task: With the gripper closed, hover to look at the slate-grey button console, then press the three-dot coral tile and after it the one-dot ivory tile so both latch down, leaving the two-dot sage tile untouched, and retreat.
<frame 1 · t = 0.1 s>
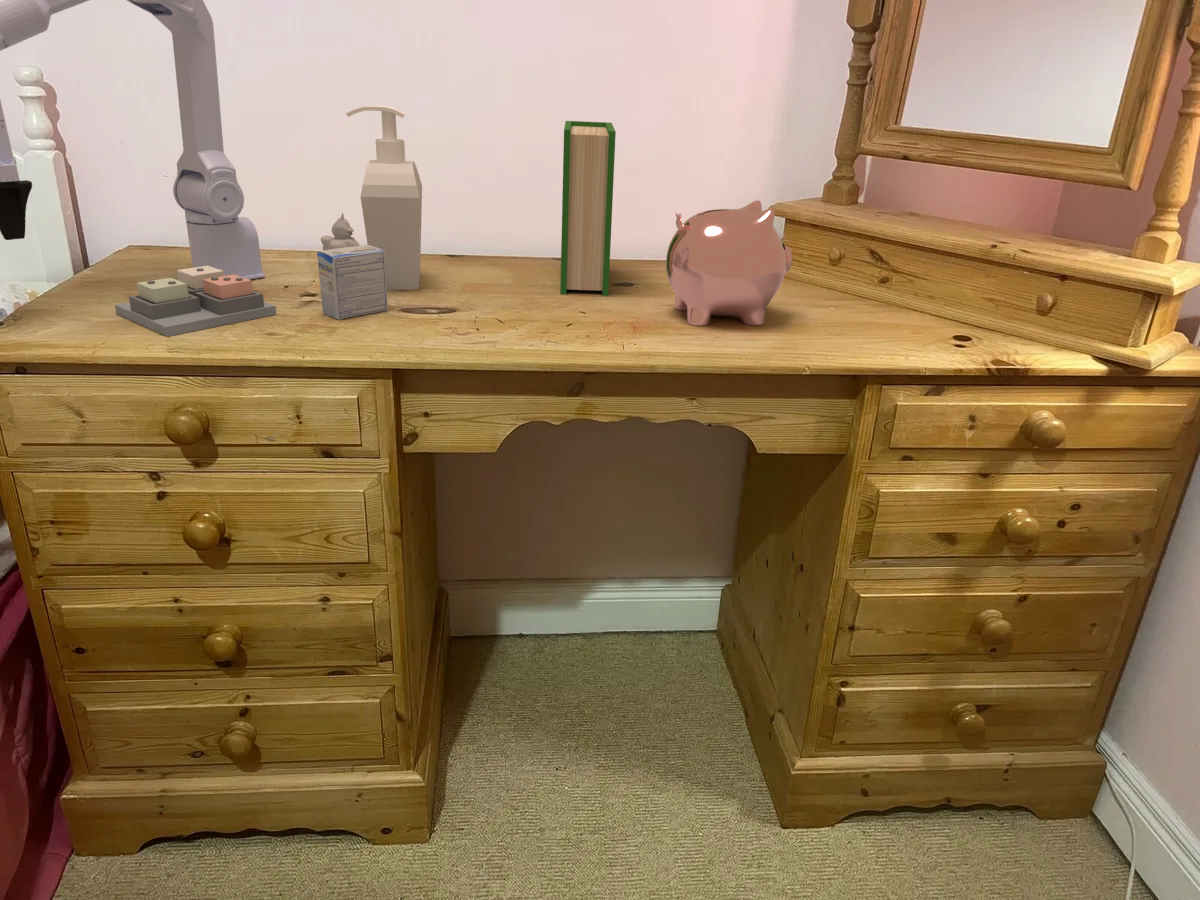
hand: (4, 234, 112), 10 cm above the table, tool pointing down, fingers open, 7 cm apart
soap bottle: (392, 284, 138), on the table
tile coral: (227, 285, 117), point 4 cm above the table, slide at 0.0 cm
hardback book: (583, 282, 144), on the table
piggy bank: (723, 316, 129), on the table
medicine box: (355, 314, 122), on the table
console: (197, 313, 118), on the table
tile ivory: (201, 276, 121), point 4 cm above the table, slide at 0.0 cm
rubber duck: (341, 260, 152), on the table
tile sage: (162, 289, 114), point 4 cm above the table, slide at 0.0 cm
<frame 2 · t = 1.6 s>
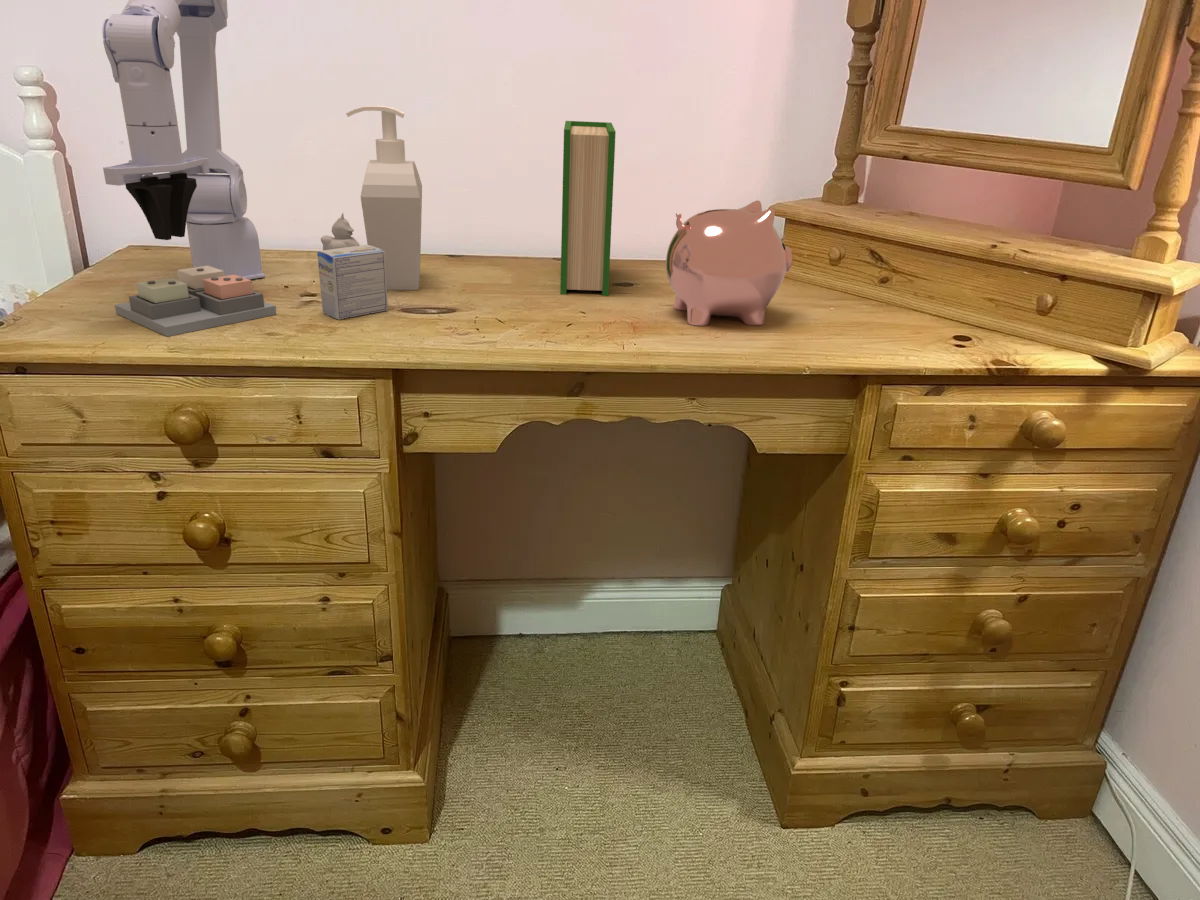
hand: (170, 237, 113), 10 cm above the table, tool pointing down, fingers closed
nothing on the table moved.
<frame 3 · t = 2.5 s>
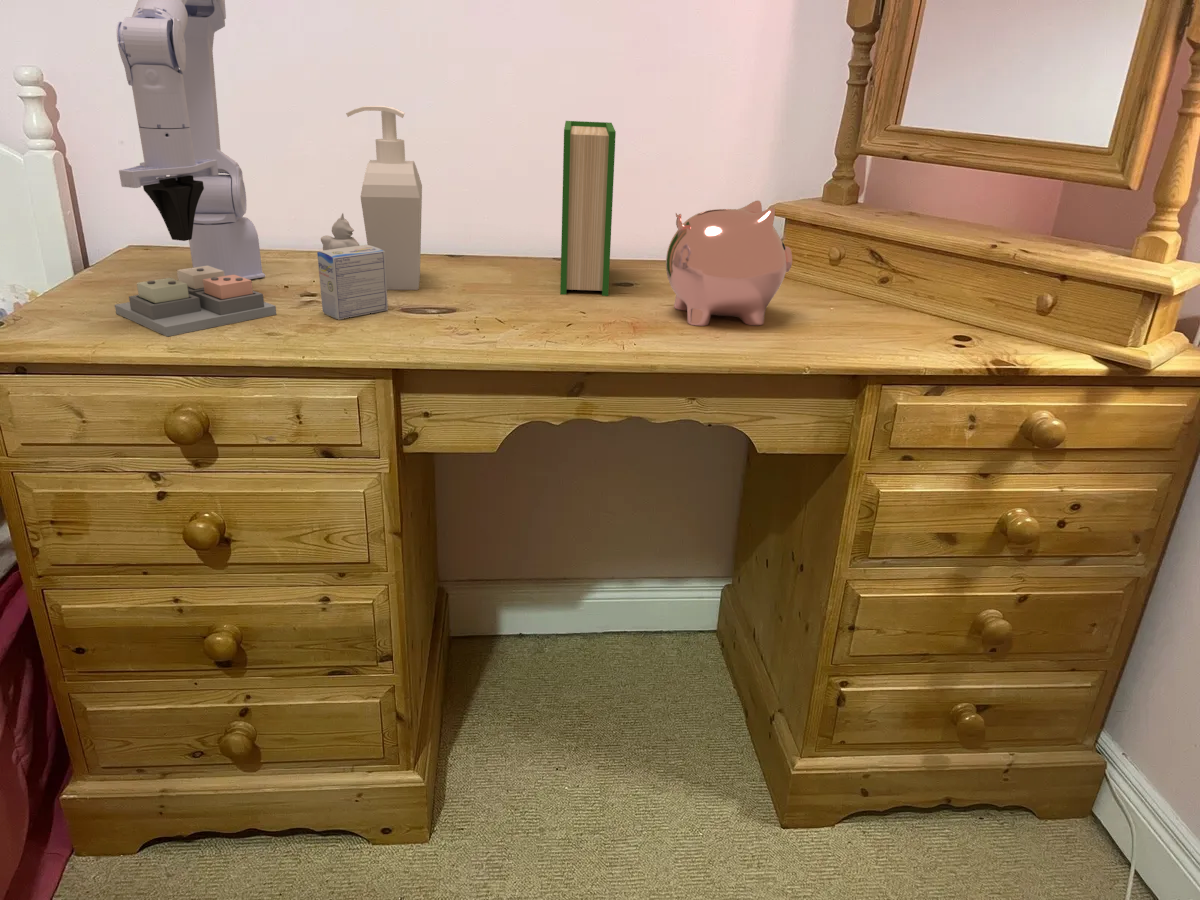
hand: (181, 239, 113), 10 cm above the table, tool pointing down, fingers closed
nothing on the table moved.
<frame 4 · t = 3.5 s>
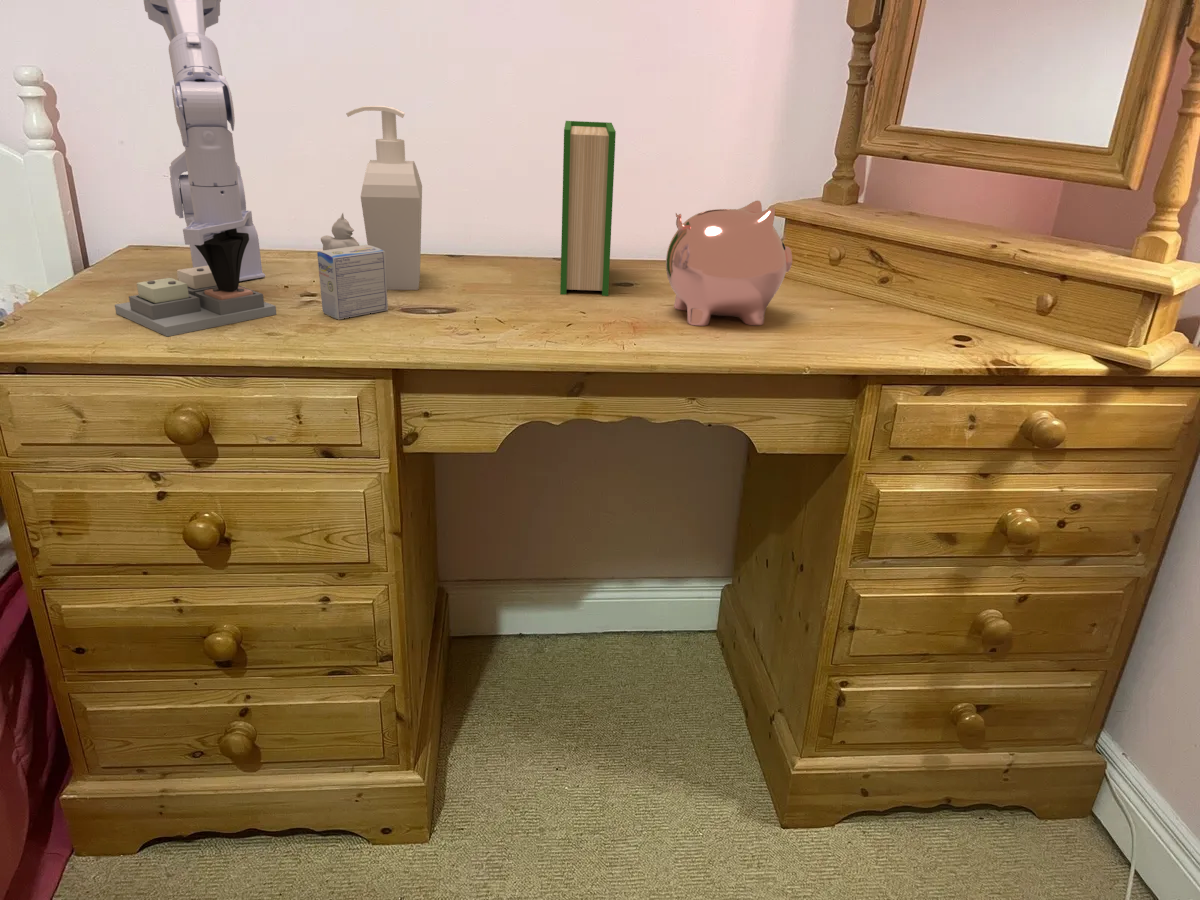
hand: (228, 289, 117), 3 cm above the table, tool pointing down, fingers closed, pressing on tile coral
tile coral: (229, 296, 117), point 3 cm above the table, slide at -1.5 cm, touching gripper
everything else where it was.
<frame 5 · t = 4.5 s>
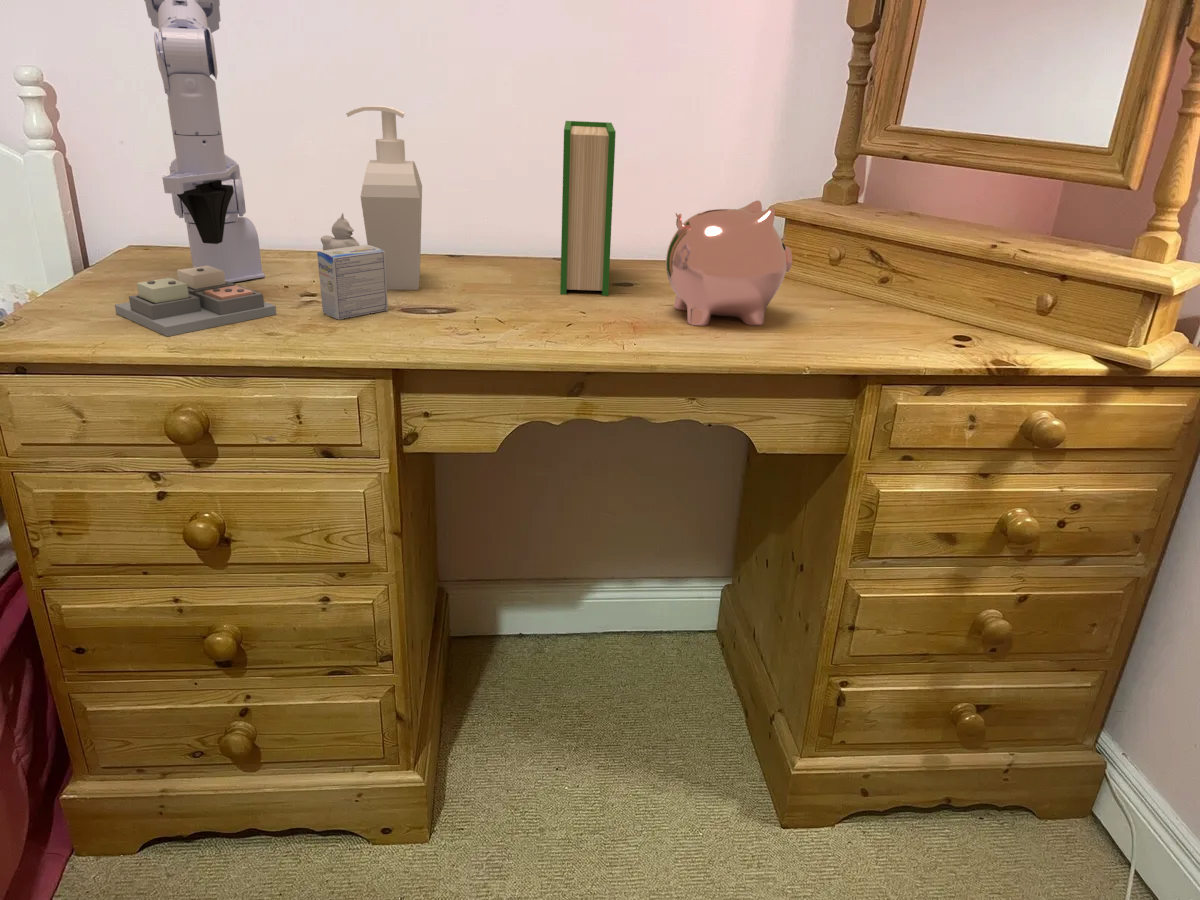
hand: (212, 242, 116), 9 cm above the table, tool pointing down, fingers closed
tile coral: (229, 296, 117), point 2 cm above the table, slide at -1.5 cm
everything else where it was.
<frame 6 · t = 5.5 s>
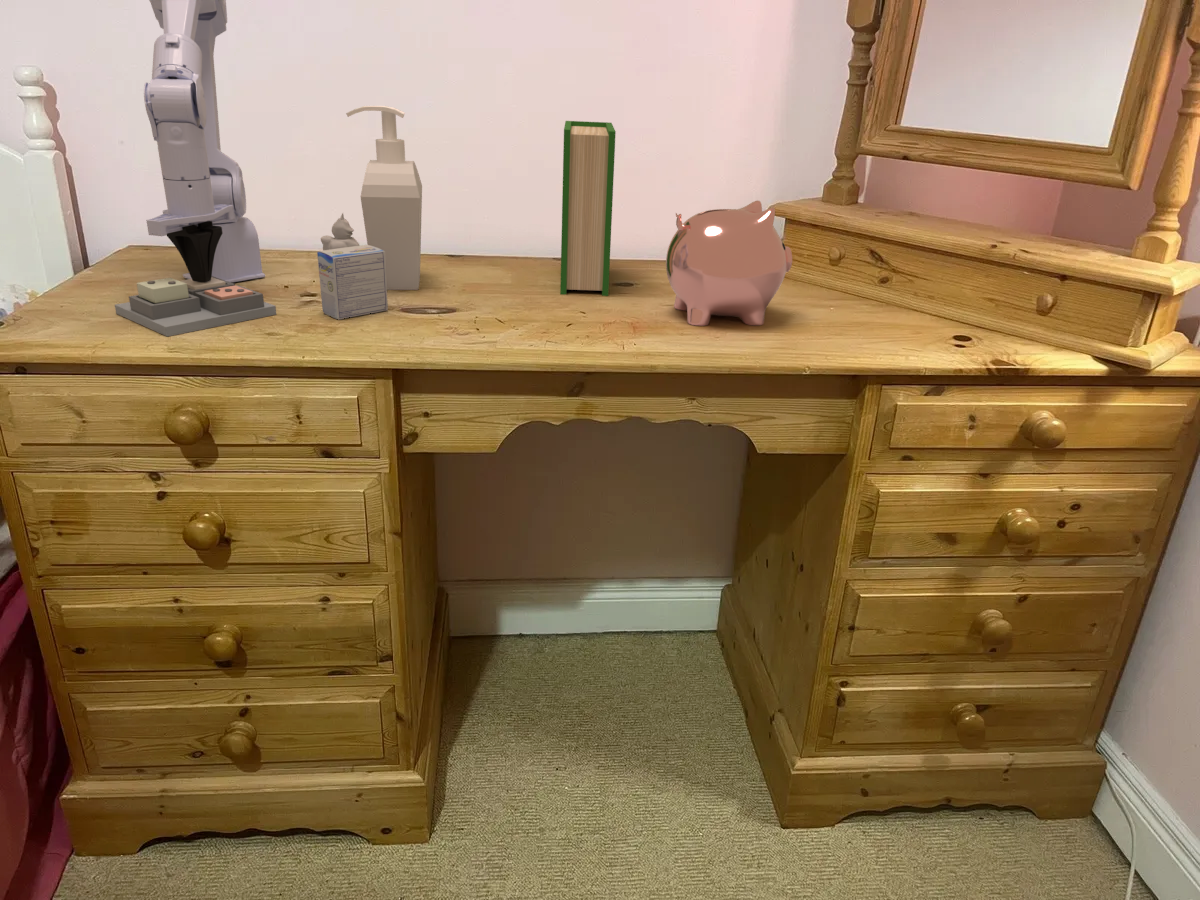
hand: (201, 280, 121), 3 cm above the table, tool pointing down, fingers closed, pressing on tile ivory
tile ivory: (202, 287, 121), point 2 cm above the table, slide at -1.5 cm, touching gripper
everything else where it was.
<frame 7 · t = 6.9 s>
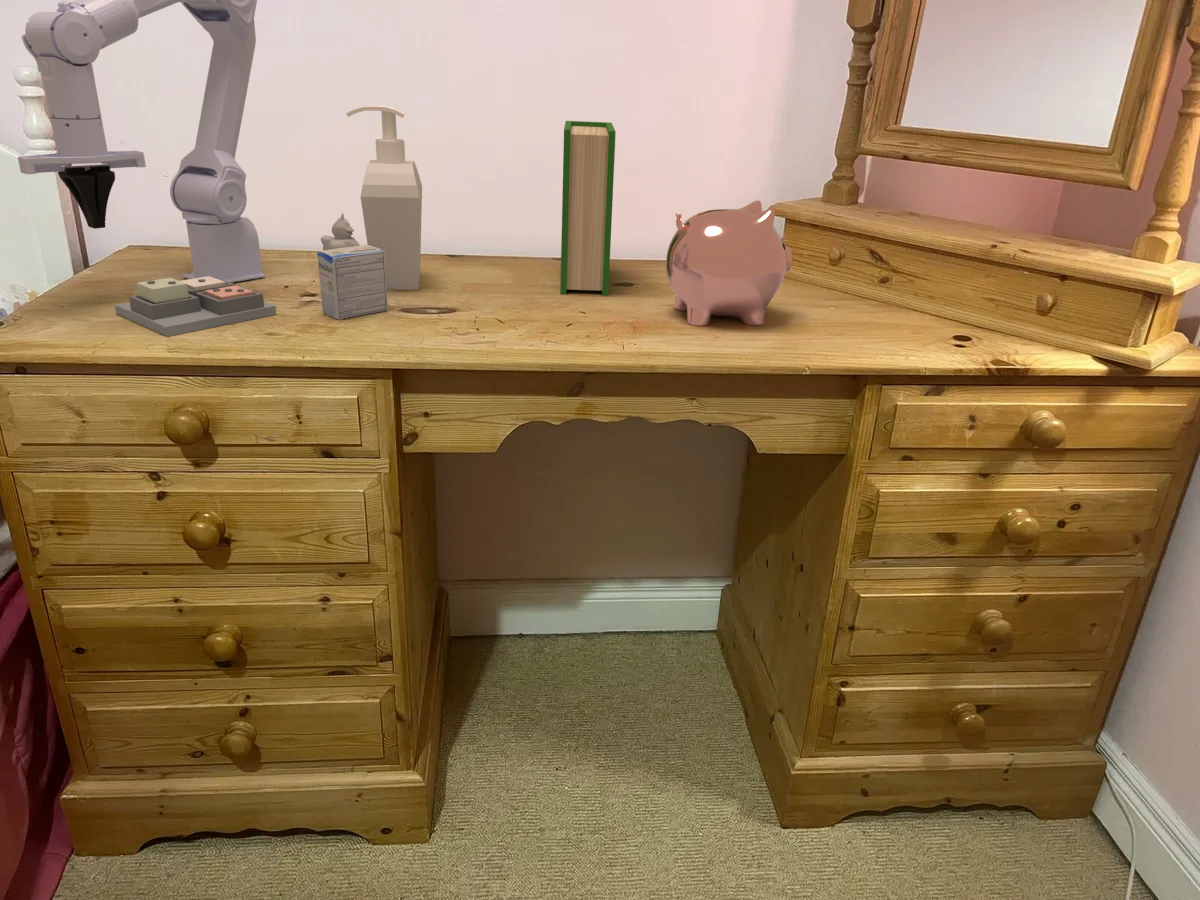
hand: (96, 227, 117), 10 cm above the table, tool pointing down, fingers closed
tile ivory: (202, 287, 121), point 2 cm above the table, slide at -1.5 cm
everything else where it was.
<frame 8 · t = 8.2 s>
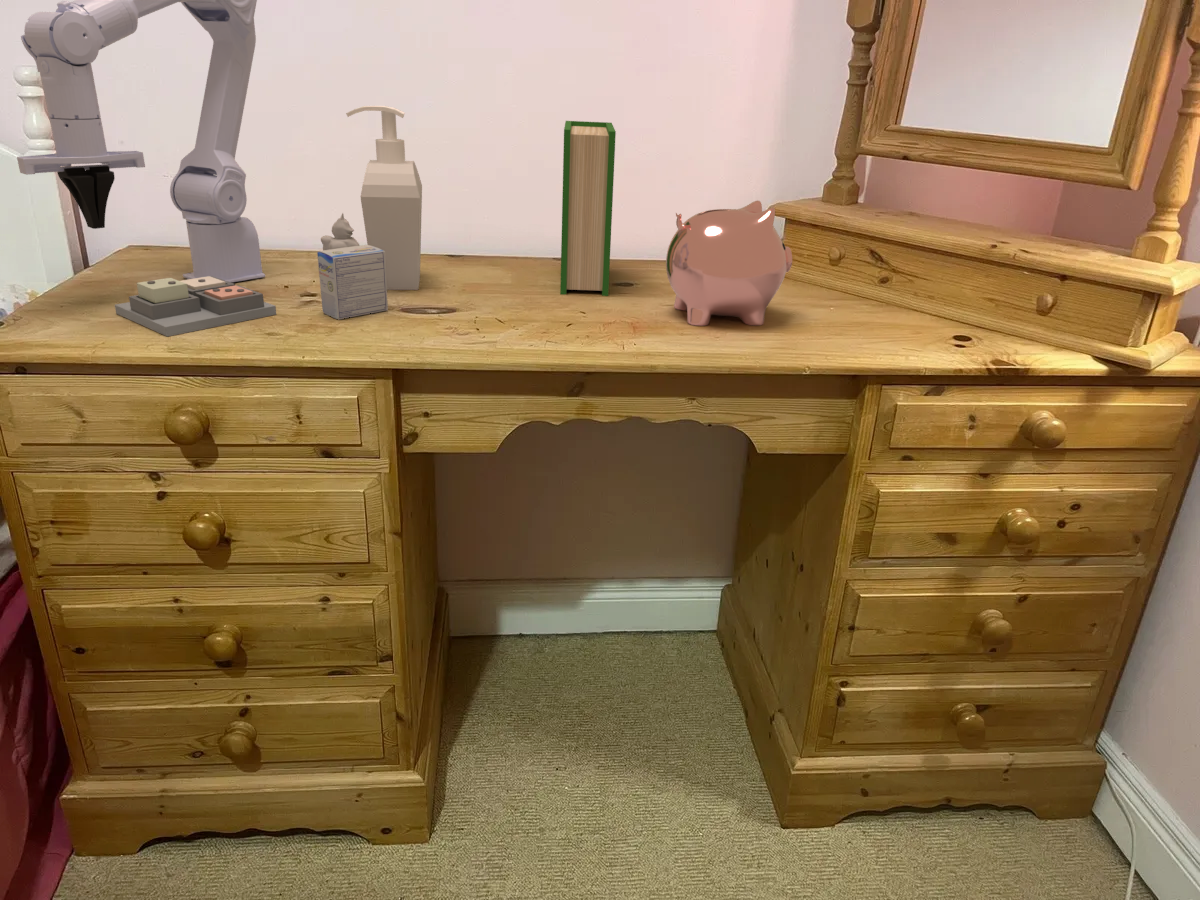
hand: (96, 227, 117), 10 cm above the table, tool pointing down, fingers closed
nothing on the table moved.
at the end: tile coral slide at -1.5 cm; tile ivory slide at -1.5 cm; tile sage slide at 0.0 cm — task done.
